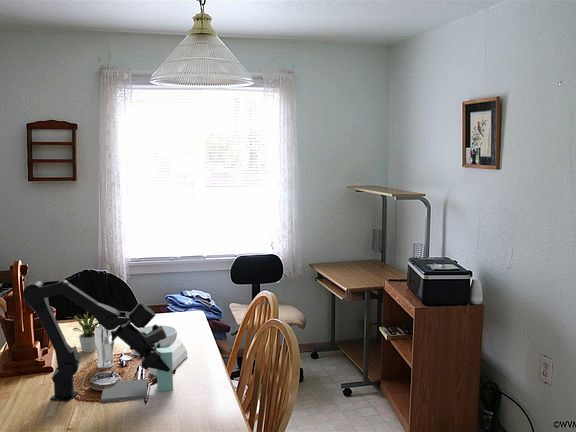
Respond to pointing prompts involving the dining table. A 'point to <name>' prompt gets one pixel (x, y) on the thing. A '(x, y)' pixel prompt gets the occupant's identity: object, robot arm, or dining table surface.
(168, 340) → the cereal bowl
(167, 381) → the teal block
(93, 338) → the house plant
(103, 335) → the beer glass
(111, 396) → the rubber mat
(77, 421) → the dining table surface
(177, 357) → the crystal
